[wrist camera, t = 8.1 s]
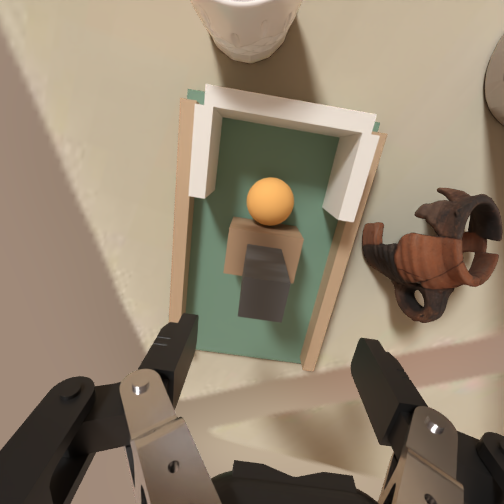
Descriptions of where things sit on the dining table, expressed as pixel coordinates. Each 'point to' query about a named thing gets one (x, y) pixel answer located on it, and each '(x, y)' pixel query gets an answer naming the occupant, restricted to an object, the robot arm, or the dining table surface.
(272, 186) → the ball
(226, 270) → the striker
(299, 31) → the dining table surface
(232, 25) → the white cup
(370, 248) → the pottery mug
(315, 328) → the pitch
